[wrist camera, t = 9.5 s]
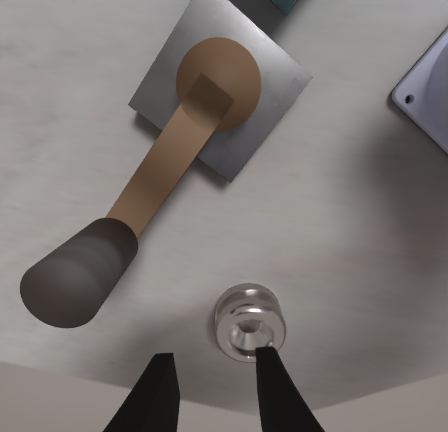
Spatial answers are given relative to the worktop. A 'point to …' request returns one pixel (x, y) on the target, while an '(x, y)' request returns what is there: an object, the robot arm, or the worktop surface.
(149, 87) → the wooden and grey pieces
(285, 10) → the tray
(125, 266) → the crank lever
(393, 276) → the worktop surface
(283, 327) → the metal wheel
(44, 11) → the worktop surface
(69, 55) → the worktop surface
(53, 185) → the worktop surface
